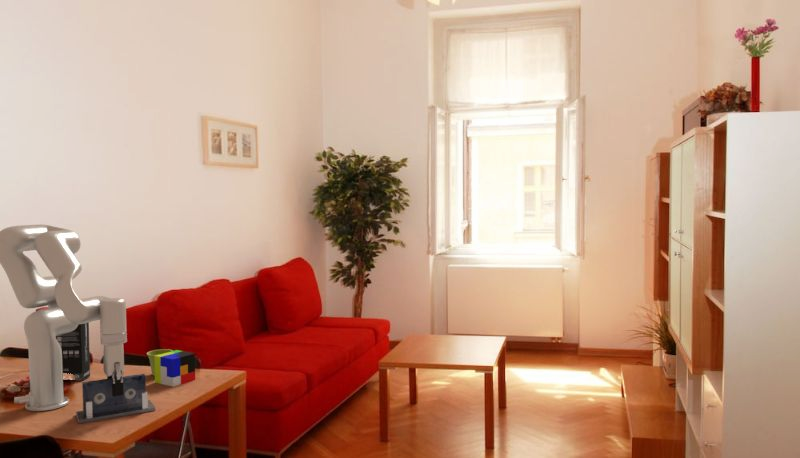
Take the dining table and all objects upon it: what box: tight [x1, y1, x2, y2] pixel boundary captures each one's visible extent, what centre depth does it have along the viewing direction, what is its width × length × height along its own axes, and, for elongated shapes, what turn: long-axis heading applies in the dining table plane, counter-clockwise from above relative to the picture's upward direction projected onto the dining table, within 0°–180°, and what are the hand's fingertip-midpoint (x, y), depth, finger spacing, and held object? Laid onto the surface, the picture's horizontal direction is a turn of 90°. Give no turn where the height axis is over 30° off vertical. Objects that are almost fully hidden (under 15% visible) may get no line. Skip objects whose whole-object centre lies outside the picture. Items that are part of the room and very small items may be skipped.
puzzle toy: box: [154, 349, 196, 388], centre depth 241 cm, size 10×10×10 cm
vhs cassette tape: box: [81, 373, 147, 416], centre depth 207 cm, size 18×3×10 cm, turn 120°
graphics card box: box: [34, 306, 91, 382], centre depth 244 cm, size 17×7×27 cm, turn 92°
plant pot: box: [146, 348, 173, 377], centre depth 251 cm, size 9×9×9 cm
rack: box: [75, 391, 156, 424], centre depth 207 cm, size 22×9×6 cm, turn 122°
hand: (115, 391), depth 207 cm, fingers open, 9 cm apart
